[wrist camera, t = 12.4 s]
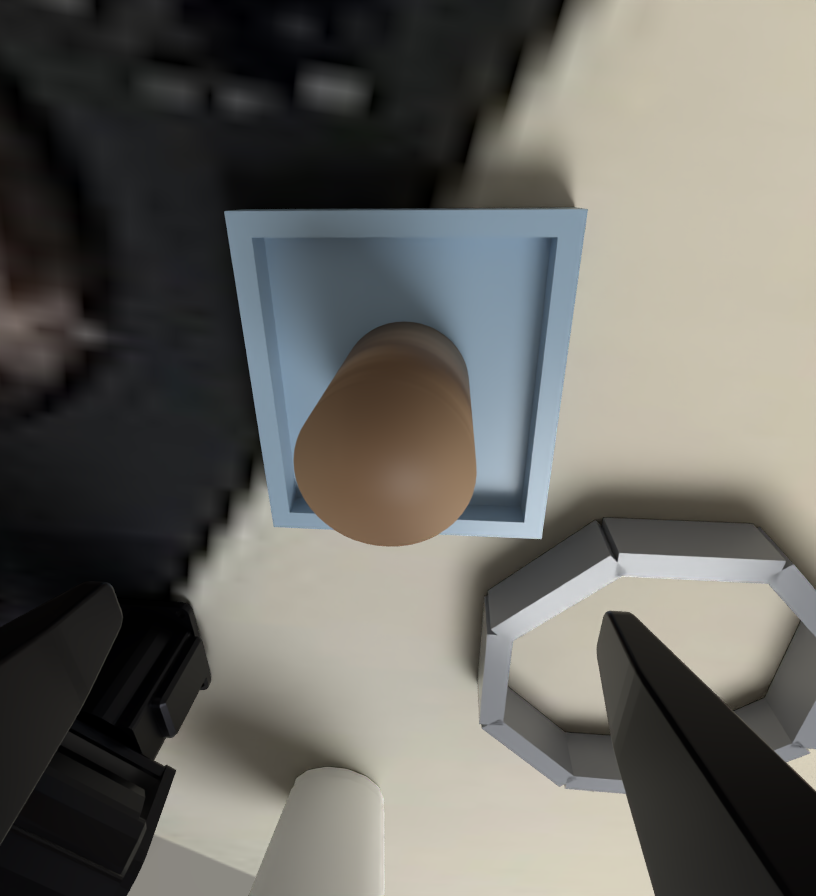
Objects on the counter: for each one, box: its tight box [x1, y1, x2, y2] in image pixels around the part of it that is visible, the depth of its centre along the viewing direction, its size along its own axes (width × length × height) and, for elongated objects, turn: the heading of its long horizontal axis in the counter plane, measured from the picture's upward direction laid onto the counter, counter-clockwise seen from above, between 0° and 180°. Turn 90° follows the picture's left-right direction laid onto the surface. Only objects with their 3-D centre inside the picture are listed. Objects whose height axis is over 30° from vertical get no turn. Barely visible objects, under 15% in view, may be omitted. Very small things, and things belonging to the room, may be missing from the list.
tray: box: [224, 207, 588, 539], centre depth 20 cm, size 12×13×2 cm
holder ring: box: [477, 518, 816, 794], centre depth 25 cm, size 16×16×2 cm
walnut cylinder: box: [293, 321, 477, 546], centre depth 17 cm, size 5×5×7 cm
